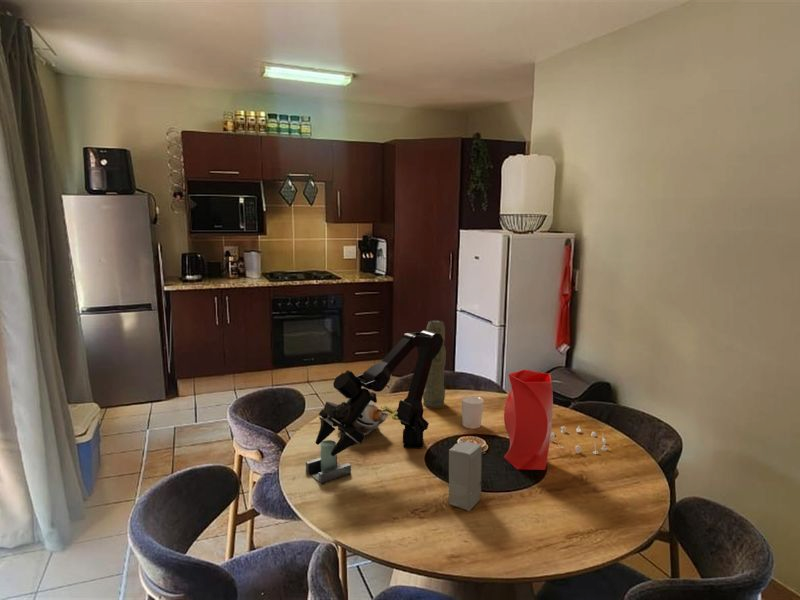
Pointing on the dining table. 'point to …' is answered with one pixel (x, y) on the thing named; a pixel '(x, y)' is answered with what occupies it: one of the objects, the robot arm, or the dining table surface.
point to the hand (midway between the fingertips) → (324, 449)
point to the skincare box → (465, 474)
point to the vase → (529, 419)
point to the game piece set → (578, 445)
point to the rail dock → (327, 471)
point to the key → (391, 411)
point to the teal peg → (327, 455)
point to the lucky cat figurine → (369, 419)
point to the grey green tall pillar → (436, 371)
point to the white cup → (472, 411)
